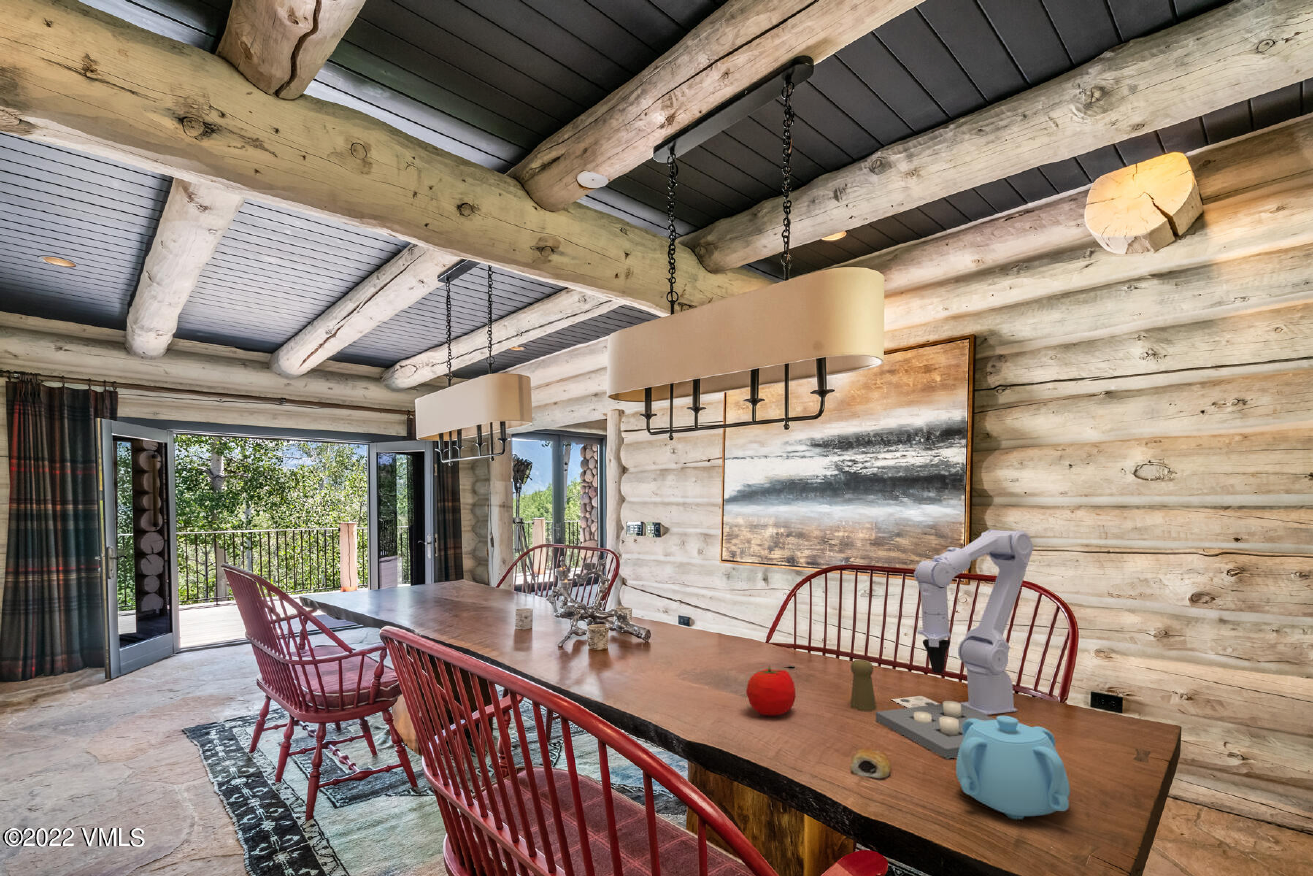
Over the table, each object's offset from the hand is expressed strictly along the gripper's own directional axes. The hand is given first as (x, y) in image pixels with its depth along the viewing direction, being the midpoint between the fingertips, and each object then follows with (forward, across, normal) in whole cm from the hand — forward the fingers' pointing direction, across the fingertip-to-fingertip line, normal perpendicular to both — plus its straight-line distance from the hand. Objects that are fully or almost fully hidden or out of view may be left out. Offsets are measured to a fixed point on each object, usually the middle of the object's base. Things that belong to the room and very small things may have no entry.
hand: (938, 672), depth 143 cm
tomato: (+10, +16, -35) cm, 40 cm away
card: (+10, -7, -6) cm, 13 cm away
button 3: (+10, +10, -3) cm, 14 cm away
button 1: (+8, +4, +3) cm, 10 cm away
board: (+10, +10, +3) cm, 14 cm away
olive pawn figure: (+10, +1, -17) cm, 20 cm away
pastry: (+10, +36, -9) cm, 39 cm away
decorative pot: (+10, +39, +14) cm, 42 cm away
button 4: (+8, +16, +3) cm, 18 cm away
